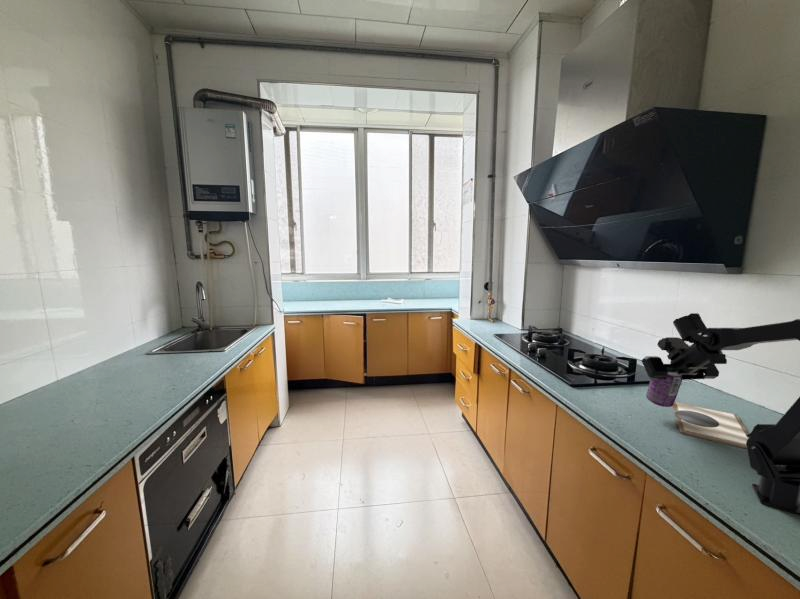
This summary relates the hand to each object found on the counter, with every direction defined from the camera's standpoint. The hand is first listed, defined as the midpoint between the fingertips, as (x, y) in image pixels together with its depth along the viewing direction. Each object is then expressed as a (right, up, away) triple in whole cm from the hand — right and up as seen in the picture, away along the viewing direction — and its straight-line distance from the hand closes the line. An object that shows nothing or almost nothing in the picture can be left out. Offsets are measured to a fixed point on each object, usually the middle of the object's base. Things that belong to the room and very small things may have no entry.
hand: (662, 378), depth 102 cm
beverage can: (0, -8, +1) cm, 8 cm away
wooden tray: (+13, -14, -2) cm, 19 cm away
